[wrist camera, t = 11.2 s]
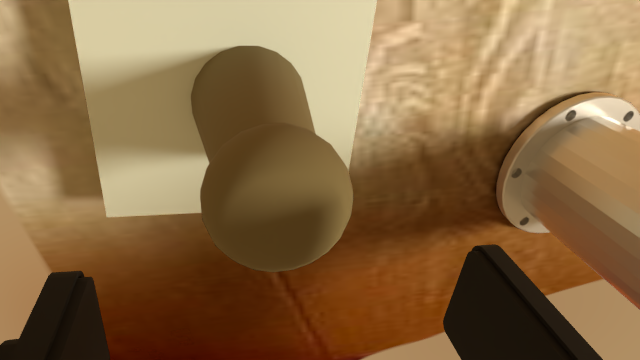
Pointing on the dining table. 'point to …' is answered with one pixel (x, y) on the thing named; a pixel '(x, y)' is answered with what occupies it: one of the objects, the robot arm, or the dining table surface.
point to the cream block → (179, 75)
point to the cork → (266, 163)
